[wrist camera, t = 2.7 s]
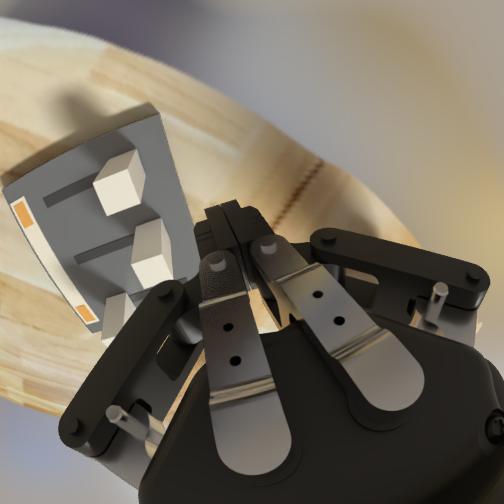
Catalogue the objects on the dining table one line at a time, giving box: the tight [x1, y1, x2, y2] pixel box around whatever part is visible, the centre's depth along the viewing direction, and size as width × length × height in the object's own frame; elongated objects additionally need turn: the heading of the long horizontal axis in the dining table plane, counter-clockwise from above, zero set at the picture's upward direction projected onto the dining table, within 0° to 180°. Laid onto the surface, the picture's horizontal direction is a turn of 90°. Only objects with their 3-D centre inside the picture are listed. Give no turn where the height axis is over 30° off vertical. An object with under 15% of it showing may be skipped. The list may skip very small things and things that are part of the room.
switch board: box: [2, 113, 201, 333], centre depth 30 cm, size 20×24×2 cm
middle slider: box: [131, 218, 174, 289], centre depth 27 cm, size 3×3×7 cm
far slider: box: [101, 292, 136, 348], centre depth 31 cm, size 3×3×7 cm
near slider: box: [93, 149, 146, 216], centre depth 22 cm, size 3×3×7 cm
